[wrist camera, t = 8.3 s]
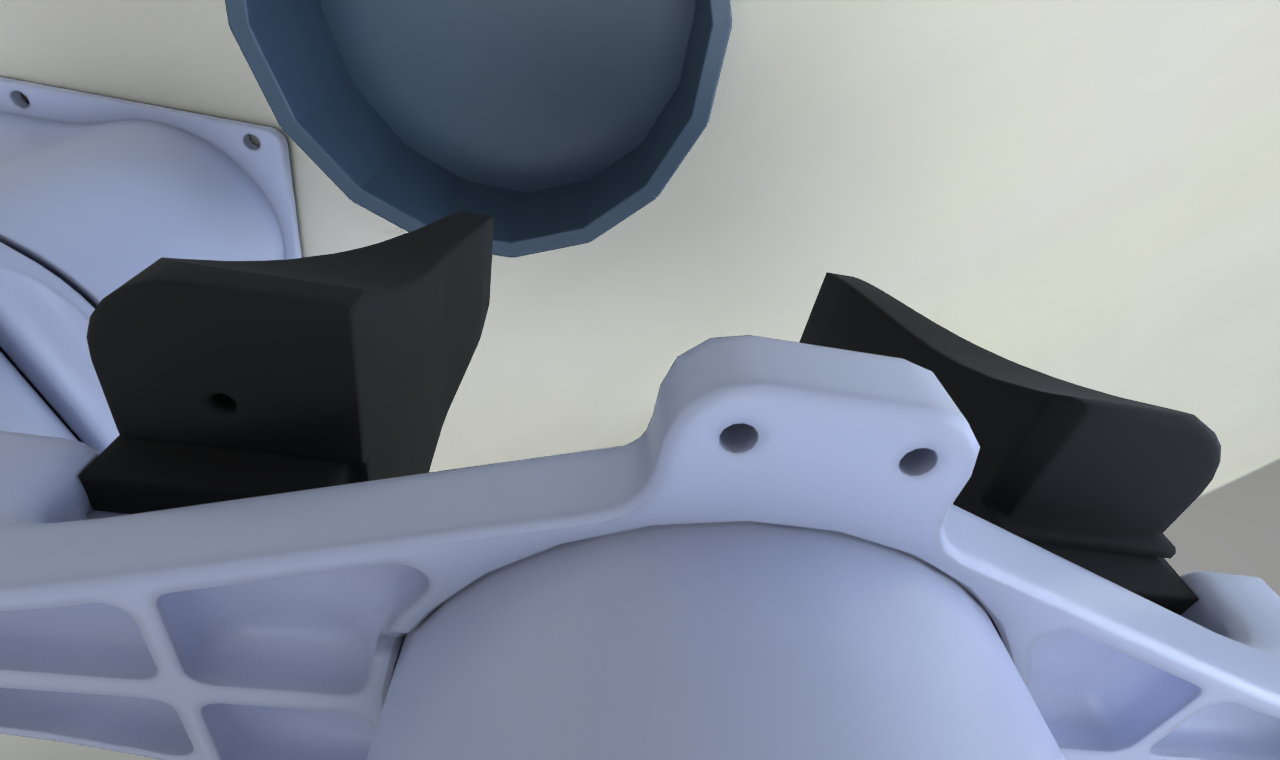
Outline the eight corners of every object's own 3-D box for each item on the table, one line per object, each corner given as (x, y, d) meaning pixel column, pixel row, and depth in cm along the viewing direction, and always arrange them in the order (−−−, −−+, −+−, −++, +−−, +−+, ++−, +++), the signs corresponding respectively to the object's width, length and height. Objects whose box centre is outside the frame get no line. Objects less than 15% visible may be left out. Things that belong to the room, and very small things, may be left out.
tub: (326, 163, 22) (258, 215, 18) (282, -331, 15) (155, -429, 11) (661, 224, 23) (668, 285, 19) (756, -201, 17) (797, -245, 13)
